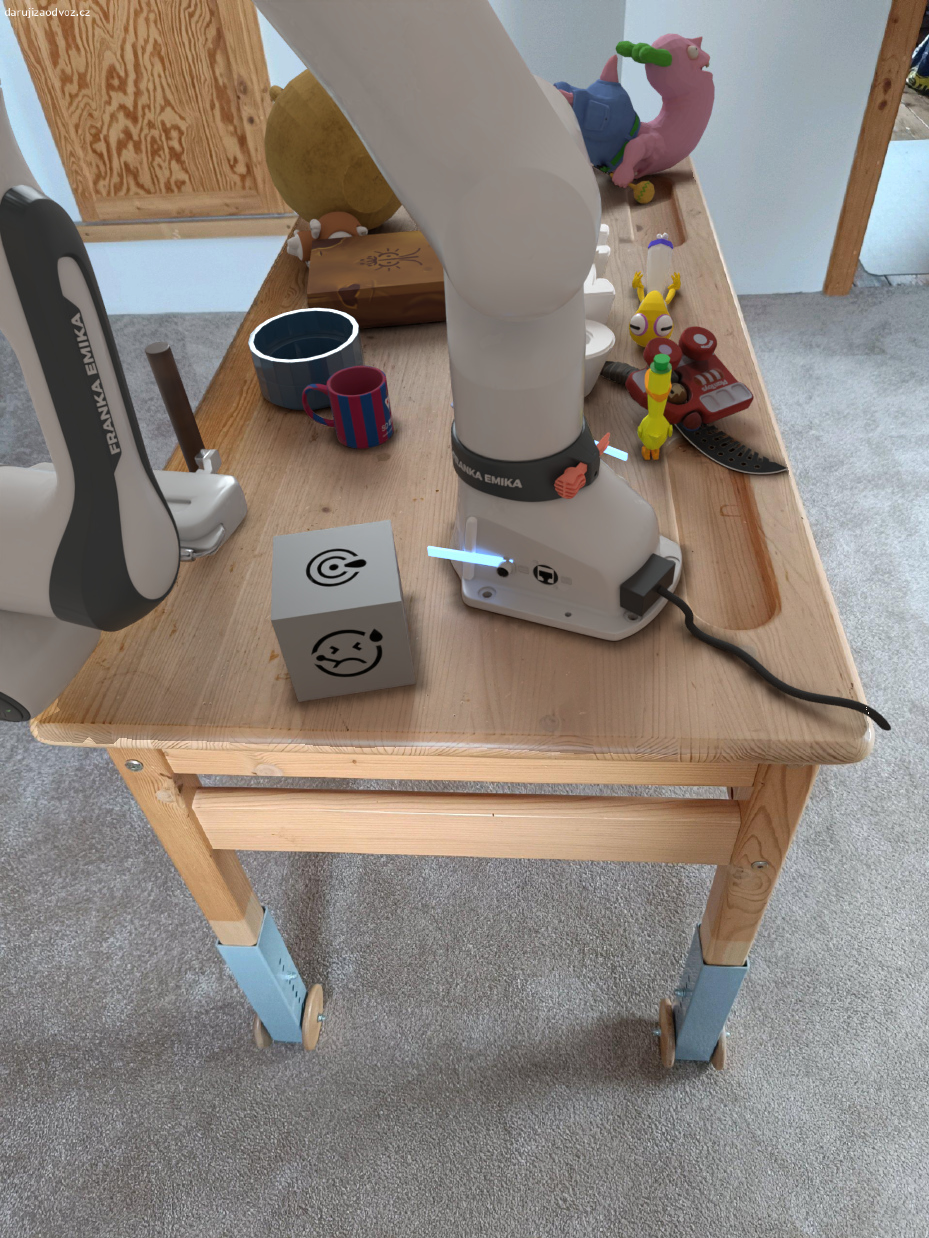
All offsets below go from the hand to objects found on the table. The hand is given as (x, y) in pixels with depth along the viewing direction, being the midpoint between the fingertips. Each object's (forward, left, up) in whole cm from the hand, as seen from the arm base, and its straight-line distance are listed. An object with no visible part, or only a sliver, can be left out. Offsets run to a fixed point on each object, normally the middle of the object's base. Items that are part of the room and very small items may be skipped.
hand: (165, 452), depth 78 cm
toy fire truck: (-28, -47, -6) cm, 55 cm away
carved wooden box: (+16, -54, -12) cm, 57 cm away
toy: (+16, -99, +4) cm, 100 cm away
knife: (-32, -41, -12) cm, 53 cm away
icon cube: (-22, +3, -12) cm, 26 cm away
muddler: (+2, -4, -12) cm, 13 cm away
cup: (0, -24, -12) cm, 27 cm away
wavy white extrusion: (-11, -52, -12) cm, 54 cm away
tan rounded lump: (+27, -65, -1) cm, 70 cm away
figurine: (+34, -52, -7) cm, 63 cm away
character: (-20, -64, -12) cm, 68 cm away
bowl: (+11, -30, -12) cm, 34 cm away
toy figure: (-33, -36, -12) cm, 50 cm away
